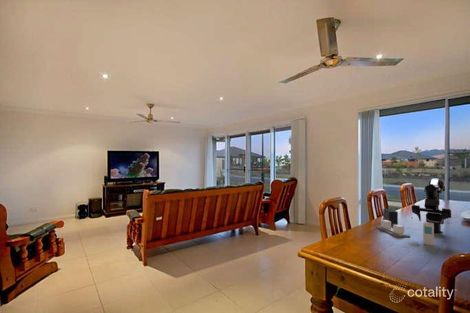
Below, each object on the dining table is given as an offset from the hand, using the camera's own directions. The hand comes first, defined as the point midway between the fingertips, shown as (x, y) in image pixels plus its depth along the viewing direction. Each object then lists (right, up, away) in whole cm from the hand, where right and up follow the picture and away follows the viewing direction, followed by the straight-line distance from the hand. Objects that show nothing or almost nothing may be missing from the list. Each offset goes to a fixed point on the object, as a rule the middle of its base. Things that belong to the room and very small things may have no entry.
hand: (429, 222), depth 141 cm
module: (-4, -12, -4) cm, 13 cm away
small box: (+2, -12, +39) cm, 41 cm away
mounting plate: (-11, -12, +18) cm, 24 cm away
